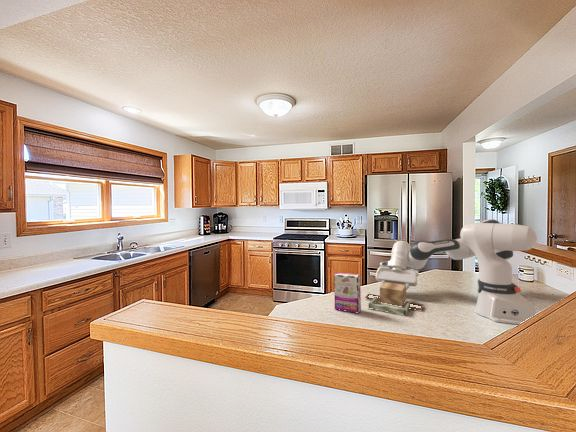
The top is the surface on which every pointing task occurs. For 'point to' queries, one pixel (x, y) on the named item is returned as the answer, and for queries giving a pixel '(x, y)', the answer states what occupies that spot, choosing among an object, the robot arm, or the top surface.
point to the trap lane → (391, 309)
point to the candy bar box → (347, 292)
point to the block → (393, 294)
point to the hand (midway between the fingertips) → (393, 290)
